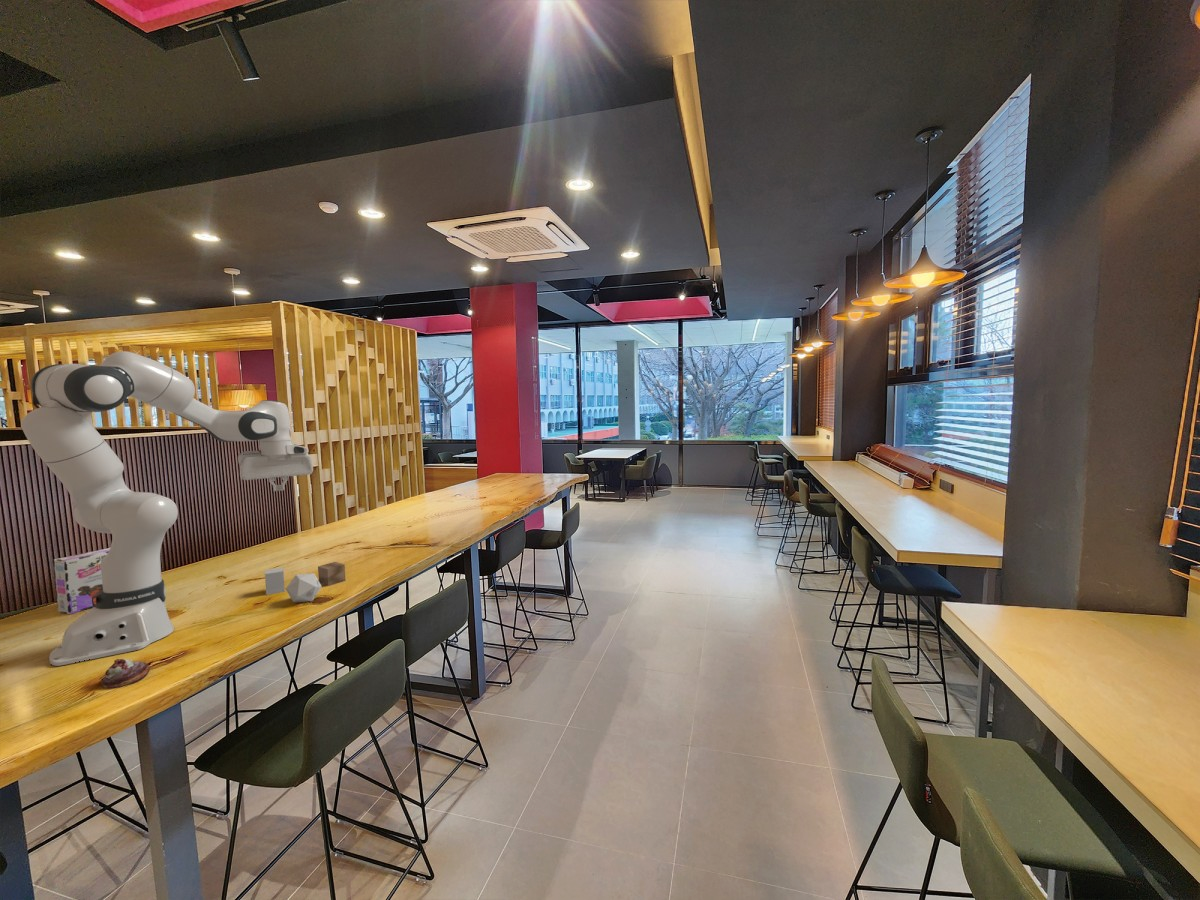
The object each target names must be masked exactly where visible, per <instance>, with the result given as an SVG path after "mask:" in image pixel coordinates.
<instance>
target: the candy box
mask: <svg viewBox="0 0 1200 900" xmlns="http://www.w3.org/2000/svg"><path fill="white" fill-rule="evenodd" d="M109 550H110V547H108V548H104V549H98V550H94V551H88V552H85V553H79V554H75V555H69V556H66V557H60V558H59V557H58V558H54V559H53V564H54V565H53V566H54V578H55V588H56V590H55V591H56V600H57V601H56V602H57V612H58V613H62V614H67V615H72V614H75V613H79V612H82V611H86V610H91V609H92V608H93V605H92V599H91V597H90V596H91V593H93V591H95V590H100V591H102V590H103V585H102V574H101V561H102V559H103V558H104V557H105V556H106V555H107V554H108V552H109Z"/></svg>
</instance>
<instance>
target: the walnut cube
mask: <svg viewBox="0 0 1200 900" xmlns="http://www.w3.org/2000/svg"><path fill="white" fill-rule="evenodd" d="M317 573H318V581H319V583H320V584H321V585H324V586H327V587H330V586H333V585H337V584H340V583H343V582H346V579H347V578H346V564H345V563H341V562H338V561H333V562H329V563H325V564H321V565H318V566H317Z"/></svg>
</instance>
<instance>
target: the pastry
mask: <svg viewBox="0 0 1200 900" xmlns="http://www.w3.org/2000/svg"><path fill="white" fill-rule="evenodd" d="M113 661H114V662H113V664H112V665H111V666H109V667H108V668H107V670H106V671H105V672H104V673H105V674H104V675H105V676H104V677H103V678H102V680H101V682H100V685H101V687H103V689H107V690H109V689H118V688H123V687H126V686H129V685H132V684H135V683H138V682H140V681H142V680H143V679H144V678H145V677H146V676H148V674H149V672H150V665H149V664H148V663H146V662H145V661H140V660H139V661H132V660H131V659H124V658H121V659H120V658H116V659H115V660H113Z"/></svg>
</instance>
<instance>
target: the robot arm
mask: <svg viewBox="0 0 1200 900" xmlns="http://www.w3.org/2000/svg"><path fill="white" fill-rule="evenodd" d="M30 389H31V393H32V404H33V406H34V408H35V409H33V410H31V411H30V412H28V413H27V414H25V415H24V417H23V418H22V419H21V423H20V428H21V429H22V431H23V433H24V435H25V437H26V440H28V442H29V445H30V446H31V447H32V448H33V450H34V452H35V453H36V454H37V455H38V457H40V460H41V461H43V463H44V464H45V465H46V466H47V467H48V468H49V469H50V471H51V472H52V473H53V474H54V475H55V476H56V477H57V478H58V480H59V481H60V483H62V485H63V486H64V487H65V489H66V490H67V493H68V494H69V495H70V498H71V500H72V502H73V504H74V509H73V518H74V520H75V522H76V523H77V524H78V525H79V526H81V527H83V528H84V529H87V530H89V531H93V532H96V533H100V534H111V535H112V536H111V537H112V540H111V544H110V547H109V548H110V550H109V552H108V554H107V555H106V556H105V557H104V558H103V559H102V561H101V574H102V585H103V590H102V591H100V590H95V591H93V593H91V596H90V597H91V599H92V605H93V608H90V609H88V611H87V612H86V613H84V614H83V615H81V616H80V617H79V618H78V619H76V620H75V621H73V622H72V623H71V624H69V625H68V626H67V627H66V629H65V631H64V634H63V635H62V639H61V640H62V641H61V644H59V645H58V646H56V647H55V648H54V649H52V651H51V652H50V654H49V658H48V662H50V663H49V664H50V665H51V664H52V666H55V667H57V666H58V667H60V666H64V665H70V664H75V662H76V663H79V661H80V662H84V660H85V661H88V660H89V659H90V660H93V659H100V658H104V657H109V656H113V655H119V654H124V653H129V652H133V651H134V652H135V651H138V650H142V649H143V648H146V647H147V646H149V645H151V643H154V642H156V641H158V640H162V639H163V638H166V637H167V636H169V635H170V634H171V633H173V632H174V630H175V628H174V625H173V623H172V622H171V619H170V617H169V614H168V611H167V610H168V609H167V606H166V602H165V601H166V597H167V593H166V592H167V591H166V584H165V580H164V579H163V578H162V566H161V563H162V562H161V552H162V551H161V550H162V545H163V542H164V537H165V535H166V534H167V532H168V530H169V529H170V528H172V527H173V525H174V524H175V522H176V521H177V519H178V515H179V510H178V506H177V504H176V503H175V502H174V501H173V499H171V498H169V497H167V496H165V495H164V496H163V495H161V494H158V493H155V492H148V491H147V492H146V491H141V492H140V491H134V490H131V489H130V488H129V487H128V486H127V485H126V483H125V480H124V478H123V473H124V470H125V466H124V463H123V462H122V460H121V459H120V458H119V457H118V455H117V454H116V453H115V451H114V449H112V448H111V446H110V445H109V444H108V443H107V441H106V440H105V439H104V437H103V436H102V434H100V432H98V430H97V429H96V428H95V425H94V423H93V419H92V413H93V412H94V413H101V412H107V411H111V410H113V409H117V407H119V406H120V405H122V404H123V403H124V402H125V401H126V400H127V399H128V398H129V397H132V398H133V399H136V400H138V401H140V402H142V403H144V404H146V405H149V406H151V407H152V406H153V407H155V408H158V409H161V410H164V411H167V412H170V413H173V414H174V415H176V416H179V417H180V418H182V419H185V420H187V421H189V422H190V423H193V424H195V425H197V426H199V427H201V428H203V430H205V431H206V432H207V433H208V434H209V435H210V436H211V437H212V438H213V439H215V440H217V441H219V442H223V443H232V442H256V441H259V450H258V449H257V450H250V451H249V450H245V451H243V452H240V453H239V454H238V455H237V463H238V465H240V467H239V477H240V479H242V480H243V481H252V480H253V481H254V480H263V479H268V482H269V483H270V484H271V486H272V488H273V489H272V490H273V491H274V492H279V491H285V489H286V488H285V485H286V483H287V481H289V480H288V479H289V477H295V476H306V475H308V476H309V475H312V473H313V472H314V467H313V461H312V458H311V456H310V455H309V454H308V452H309V448H308V447H306V446H303V445H299V444H293V443H292V438H291V434H290V430H291V417H290V412H289V408H288V406H287V404H286V403H283V401H278V400H272V399H270V400H269V399H263V400H260V401H259V402H257V404H255V405H254V406H252V407H249V408H247V409H244V410H222V409H221V410H218V409H215V408H213V407H211V406H209V405H208V404H205V403H203V402H201V401H199V400H197V398H196V399H195V398H194V397H195V395H196V387H195V384H194V382H193V380H192V379H190V378H189V377H188V376H186V375H184V374H183V373H181V372H180V371H179V370H176V369H174V368H172V367H170V366H167V365H166V364H163V363H161V362H159V361H157V360H154V359H152V358H149V357H147V356H145V355H144V356H143V355H141V354H138V353H135V352H131V351H128V350H121V351H120V350H119V351H116V352H113V353H111V354H109V355H108V356H107V357H105V358H104V360H103V361H102V362H101V364H99V365H88V364H82V363H81V364H80V363H65V364H63V363H57V364H51V365H48V366H44V367H42V368H41V369H39V370H37V371H36V372H35V373H34V374H33V376H32V378H31V380H30ZM276 478H281V480H282V482H281V483H280V484H276V483H275V481H276ZM90 660H89V661H90Z"/></svg>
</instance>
